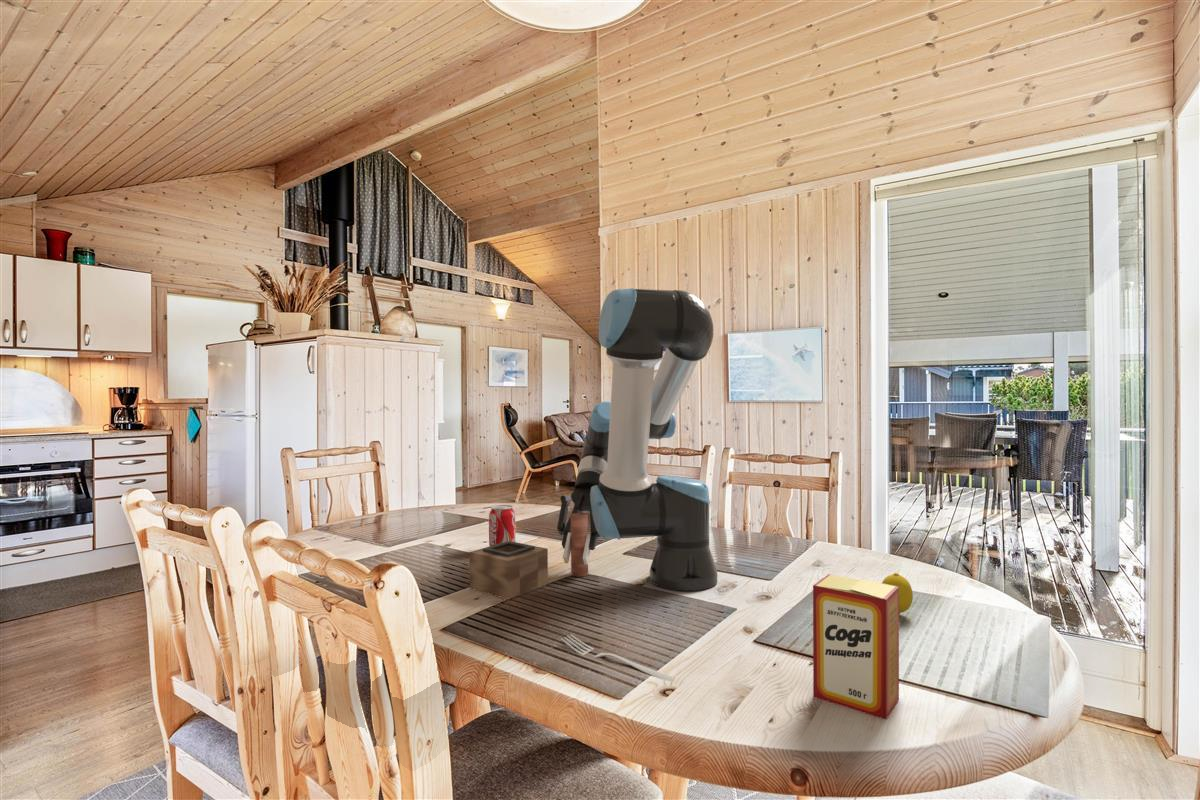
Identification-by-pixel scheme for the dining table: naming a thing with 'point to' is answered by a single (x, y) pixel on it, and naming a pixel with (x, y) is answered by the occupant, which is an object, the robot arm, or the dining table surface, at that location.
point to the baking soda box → (856, 644)
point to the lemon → (901, 590)
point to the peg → (578, 543)
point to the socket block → (508, 569)
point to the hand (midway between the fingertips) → (575, 560)
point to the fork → (642, 668)
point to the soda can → (501, 524)
